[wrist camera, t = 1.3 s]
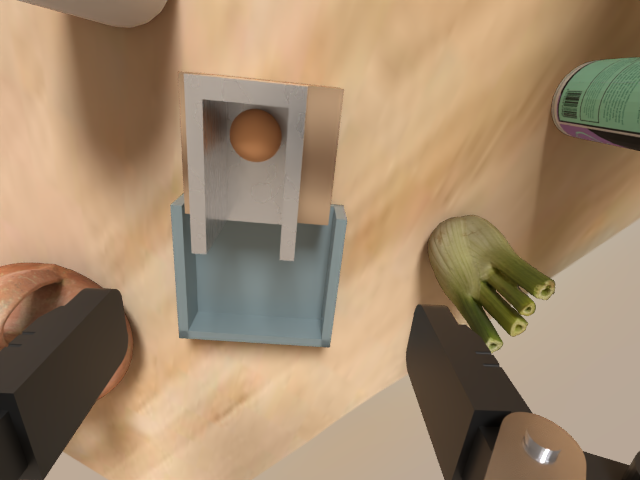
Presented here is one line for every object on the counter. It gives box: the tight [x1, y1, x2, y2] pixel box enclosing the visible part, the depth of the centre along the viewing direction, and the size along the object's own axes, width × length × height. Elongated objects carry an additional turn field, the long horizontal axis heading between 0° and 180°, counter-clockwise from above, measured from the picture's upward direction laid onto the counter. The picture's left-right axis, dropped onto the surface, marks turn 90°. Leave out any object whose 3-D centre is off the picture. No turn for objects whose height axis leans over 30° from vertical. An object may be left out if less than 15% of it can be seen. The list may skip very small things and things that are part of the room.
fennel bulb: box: [428, 215, 555, 353], centre depth 27 cm, size 6×5×12 cm
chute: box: [184, 74, 308, 261], centre depth 21 cm, size 9×6×6 cm, turn 174°
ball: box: [230, 109, 282, 162], centre depth 21 cm, size 3×3×3 cm
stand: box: [178, 71, 344, 225], centre depth 26 cm, size 9×10×5 cm
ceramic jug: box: [0, 263, 133, 400], centre depth 28 cm, size 18×14×14 cm
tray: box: [171, 193, 347, 347], centre depth 31 cm, size 12×13×4 cm
